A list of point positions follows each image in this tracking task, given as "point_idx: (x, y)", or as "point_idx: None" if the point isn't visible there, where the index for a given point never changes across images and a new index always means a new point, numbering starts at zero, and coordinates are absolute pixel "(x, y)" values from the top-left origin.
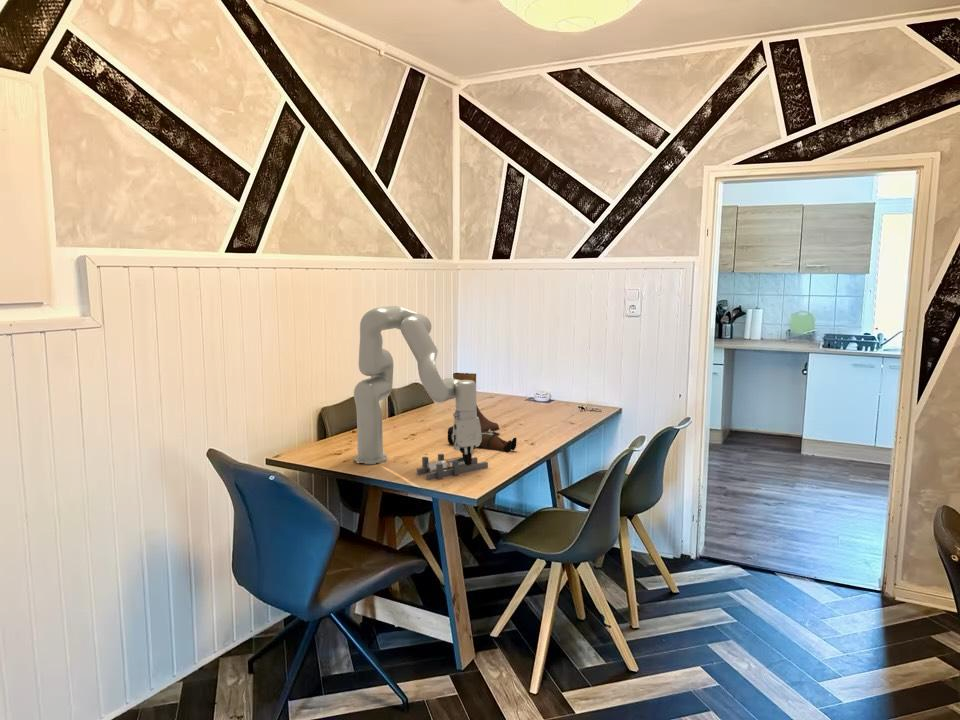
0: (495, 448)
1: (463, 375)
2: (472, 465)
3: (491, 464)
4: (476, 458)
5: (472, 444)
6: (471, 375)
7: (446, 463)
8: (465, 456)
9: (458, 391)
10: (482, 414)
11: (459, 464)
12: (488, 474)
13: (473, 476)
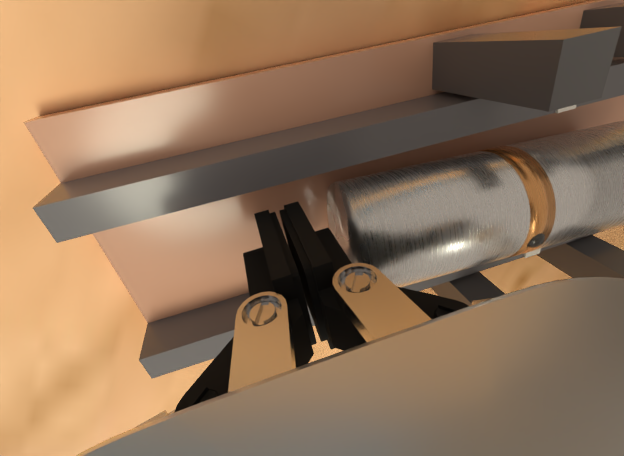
0: None
1: None
2: (265, 149)
3: (7, 317)
4: (150, 353)
5: (312, 386)
6: None
7: (549, 173)
8: (341, 262)
9: None
10: None
11: (403, 179)
12: (87, 29)
13: (275, 37)
